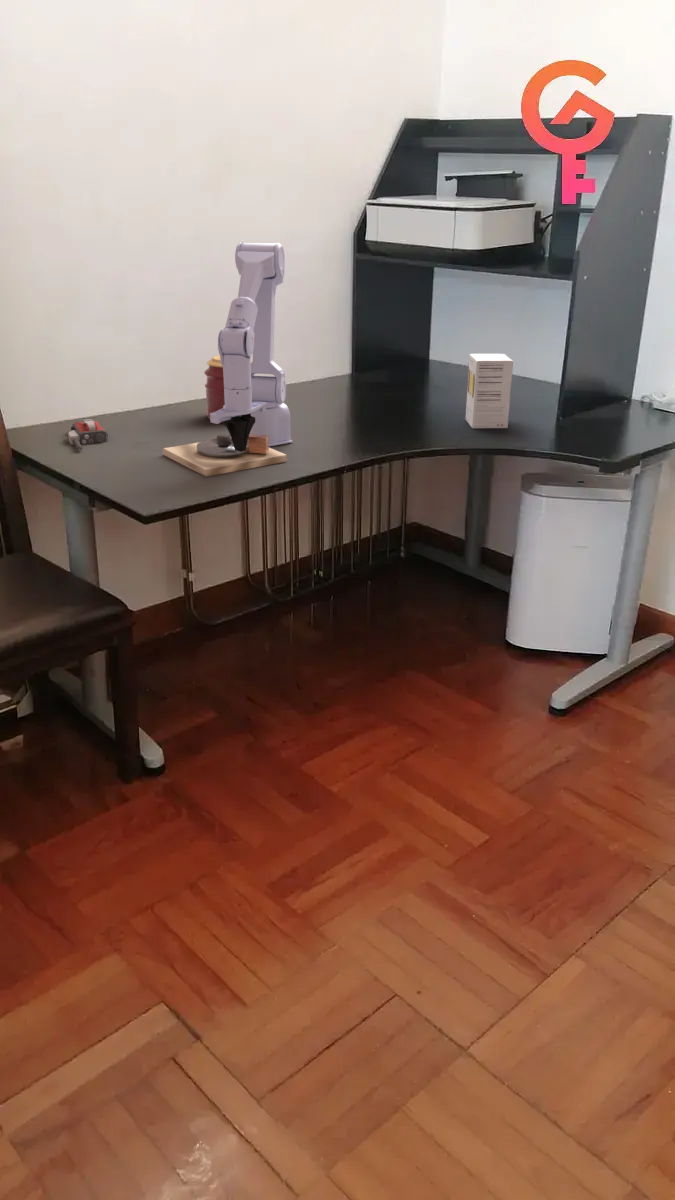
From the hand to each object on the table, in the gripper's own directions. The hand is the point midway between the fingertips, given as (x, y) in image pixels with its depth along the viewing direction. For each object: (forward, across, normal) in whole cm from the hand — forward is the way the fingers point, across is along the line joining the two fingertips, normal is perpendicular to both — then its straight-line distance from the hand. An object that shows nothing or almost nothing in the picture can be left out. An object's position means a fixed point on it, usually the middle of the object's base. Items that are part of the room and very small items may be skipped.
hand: (240, 450), depth 203 cm
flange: (+2, -3, -6) cm, 7 cm away
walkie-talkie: (+4, +9, -42) cm, 44 cm away
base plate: (+4, -2, -7) cm, 8 cm away
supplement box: (+4, -68, +19) cm, 70 cm away
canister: (+4, -29, -34) cm, 45 cm away
